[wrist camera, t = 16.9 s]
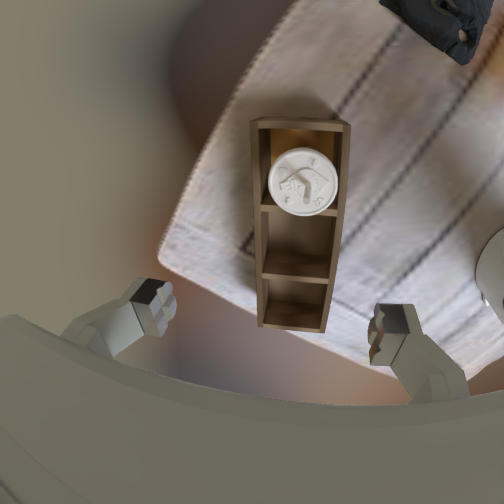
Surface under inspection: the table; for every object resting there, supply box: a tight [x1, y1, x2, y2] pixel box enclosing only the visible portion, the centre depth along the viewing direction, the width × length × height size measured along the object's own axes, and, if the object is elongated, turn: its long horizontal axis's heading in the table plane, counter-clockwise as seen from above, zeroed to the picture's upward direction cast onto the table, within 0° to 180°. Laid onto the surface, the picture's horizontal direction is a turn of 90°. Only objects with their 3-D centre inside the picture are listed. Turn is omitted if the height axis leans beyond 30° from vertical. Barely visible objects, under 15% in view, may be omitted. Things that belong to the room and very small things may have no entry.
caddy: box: [250, 117, 351, 333], centre depth 35 cm, size 10×29×6 cm, turn 2°
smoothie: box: [268, 146, 338, 216], centre depth 26 cm, size 6×6×14 cm
